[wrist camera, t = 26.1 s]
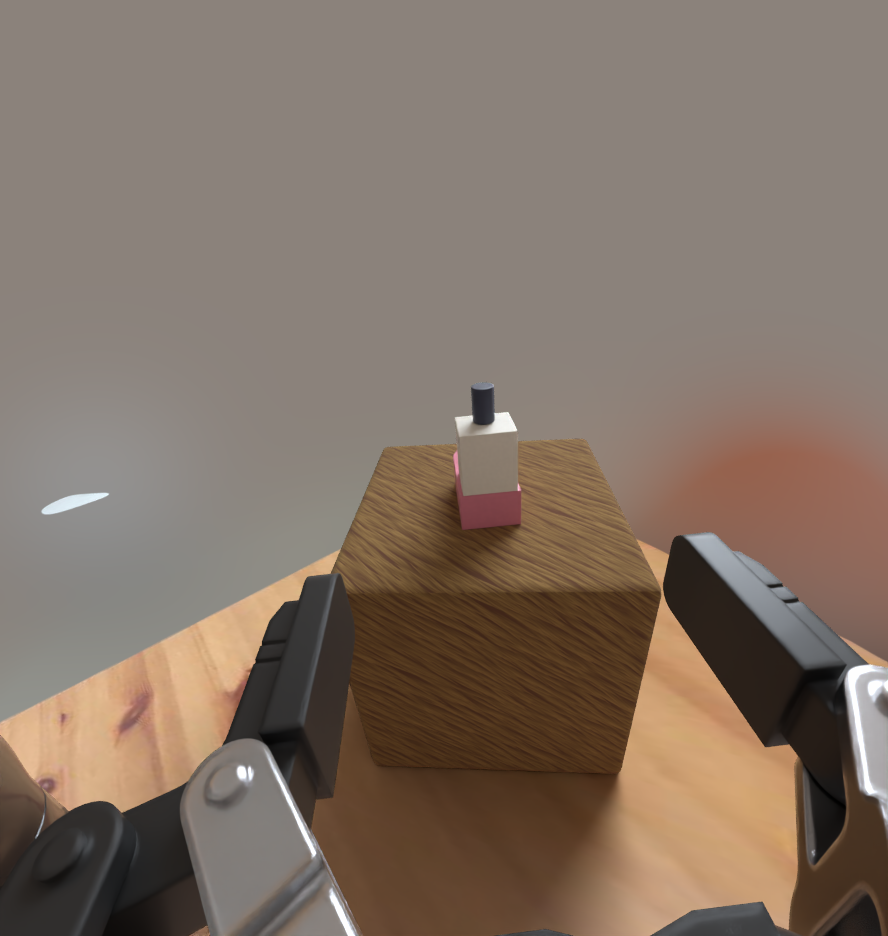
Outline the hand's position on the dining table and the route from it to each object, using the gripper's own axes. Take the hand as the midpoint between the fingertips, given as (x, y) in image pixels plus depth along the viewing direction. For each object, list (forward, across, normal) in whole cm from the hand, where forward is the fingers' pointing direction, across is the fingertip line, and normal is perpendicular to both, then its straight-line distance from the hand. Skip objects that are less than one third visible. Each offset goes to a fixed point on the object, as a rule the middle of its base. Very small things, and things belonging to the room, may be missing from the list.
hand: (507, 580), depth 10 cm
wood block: (+27, -3, +40) cm, 49 cm away
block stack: (+27, -3, +15) cm, 31 cm away
